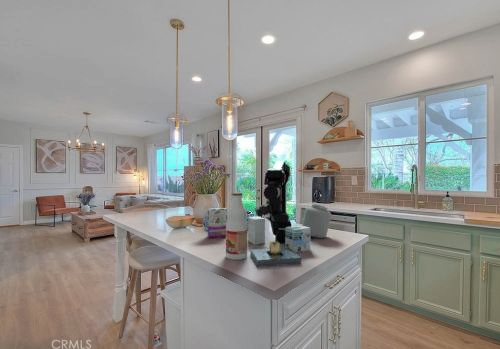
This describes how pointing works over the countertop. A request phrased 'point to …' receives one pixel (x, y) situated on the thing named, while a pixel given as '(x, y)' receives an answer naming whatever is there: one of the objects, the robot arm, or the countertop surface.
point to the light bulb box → (297, 238)
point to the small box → (256, 230)
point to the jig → (275, 257)
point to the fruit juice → (236, 229)
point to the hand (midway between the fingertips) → (274, 234)
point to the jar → (317, 220)
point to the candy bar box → (217, 222)
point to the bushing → (274, 248)
